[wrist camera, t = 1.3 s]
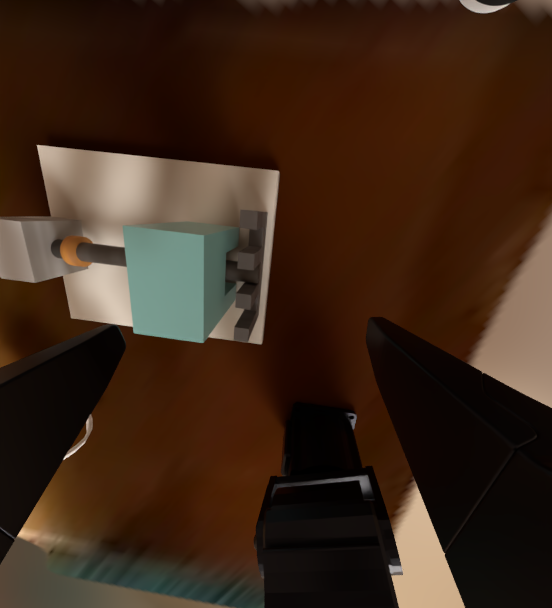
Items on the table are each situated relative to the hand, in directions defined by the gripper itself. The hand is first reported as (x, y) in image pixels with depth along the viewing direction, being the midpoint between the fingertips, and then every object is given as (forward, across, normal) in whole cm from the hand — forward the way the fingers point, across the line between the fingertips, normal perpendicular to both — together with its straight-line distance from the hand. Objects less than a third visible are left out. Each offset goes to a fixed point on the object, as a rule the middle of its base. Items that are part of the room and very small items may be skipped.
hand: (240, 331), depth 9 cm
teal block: (+11, +4, +1) cm, 12 cm away
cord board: (+13, +9, +1) cm, 16 cm away
